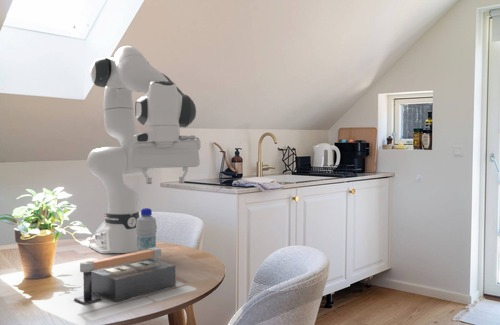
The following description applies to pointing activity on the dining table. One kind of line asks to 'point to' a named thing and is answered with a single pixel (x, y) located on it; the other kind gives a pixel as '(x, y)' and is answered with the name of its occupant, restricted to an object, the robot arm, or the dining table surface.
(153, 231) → the bottle
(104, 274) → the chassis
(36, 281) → the dining table surface
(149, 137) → the robot arm
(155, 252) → the swing arm
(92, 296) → the pivot post
